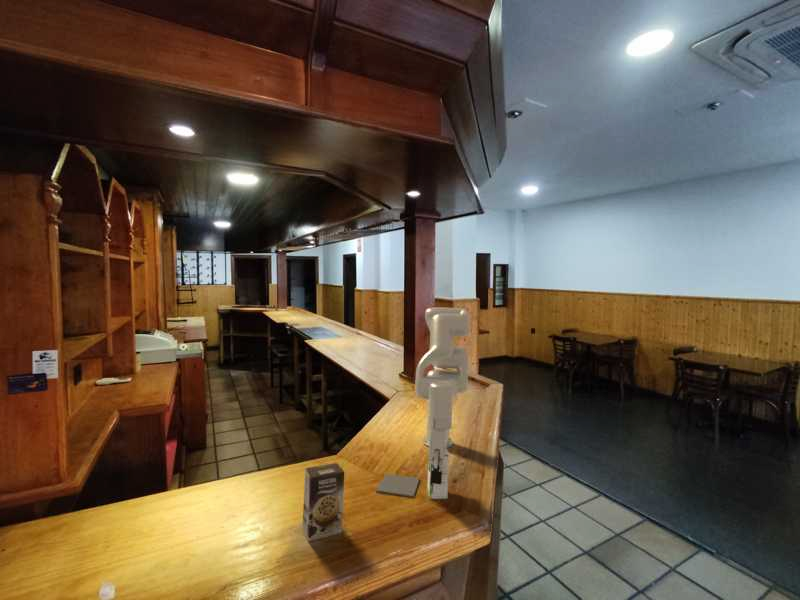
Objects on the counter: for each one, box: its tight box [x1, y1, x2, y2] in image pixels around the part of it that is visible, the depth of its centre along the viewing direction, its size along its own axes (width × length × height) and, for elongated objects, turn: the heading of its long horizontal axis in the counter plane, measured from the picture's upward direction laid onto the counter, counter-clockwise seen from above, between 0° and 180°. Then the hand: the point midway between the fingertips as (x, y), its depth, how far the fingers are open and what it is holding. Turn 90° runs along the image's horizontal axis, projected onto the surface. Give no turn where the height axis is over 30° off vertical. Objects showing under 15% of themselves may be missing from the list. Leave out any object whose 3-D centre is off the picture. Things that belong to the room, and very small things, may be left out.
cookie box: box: [302, 462, 345, 542], centre depth 99 cm, size 9×6×16 cm
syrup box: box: [426, 448, 450, 500], centre depth 119 cm, size 6×6×14 cm
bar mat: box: [375, 473, 421, 498], centre depth 124 cm, size 12×12×1 cm
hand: (437, 476), depth 119 cm, fingers open, 9 cm apart
